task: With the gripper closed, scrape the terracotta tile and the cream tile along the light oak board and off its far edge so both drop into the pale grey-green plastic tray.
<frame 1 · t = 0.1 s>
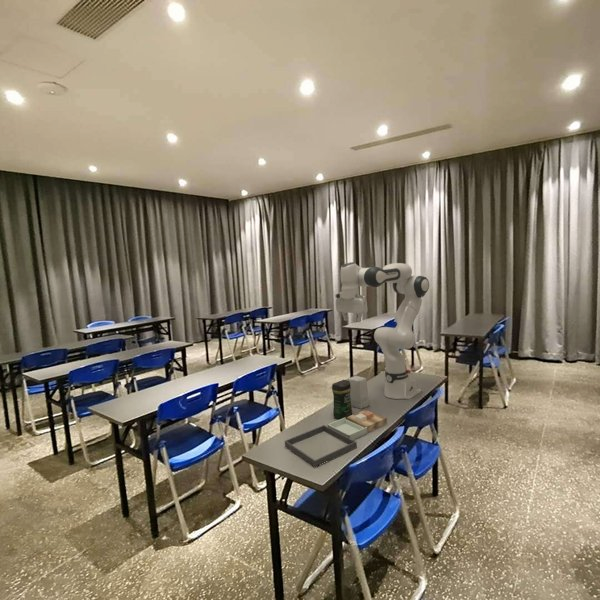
hand: (352, 321, 185), 48 cm above the table, fingers open, 8 cm apart
terracotta tile: (367, 417, 175), point 3 cm above the table, touching oak board
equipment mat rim: (320, 446, 156), on the table
cream tile: (360, 419, 172), point 3 cm above the table, touching oak board
coffee jar: (343, 416, 184), on the table
oak board: (366, 423, 174), on the table
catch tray: (347, 432, 167), on the table
skincare box: (359, 406, 196), on the table
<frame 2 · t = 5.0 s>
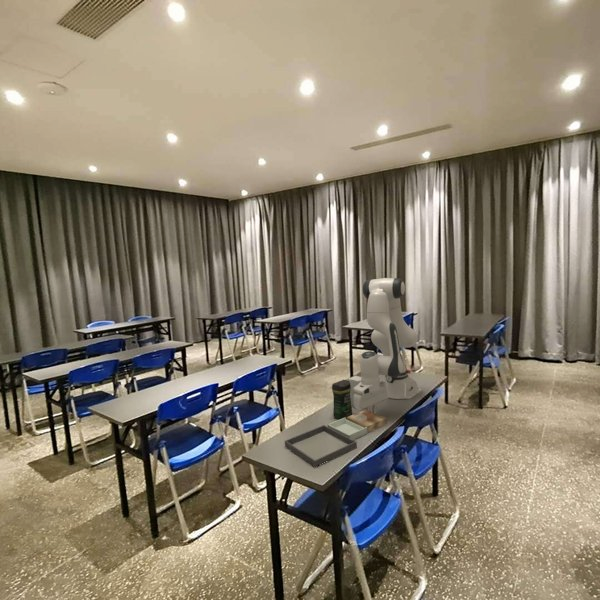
hand: (372, 412, 176), 4 cm above the table, fingers closed
terracotta tile: (367, 417, 174), point 3 cm above the table, touching gripper, oak board
everything else where it was.
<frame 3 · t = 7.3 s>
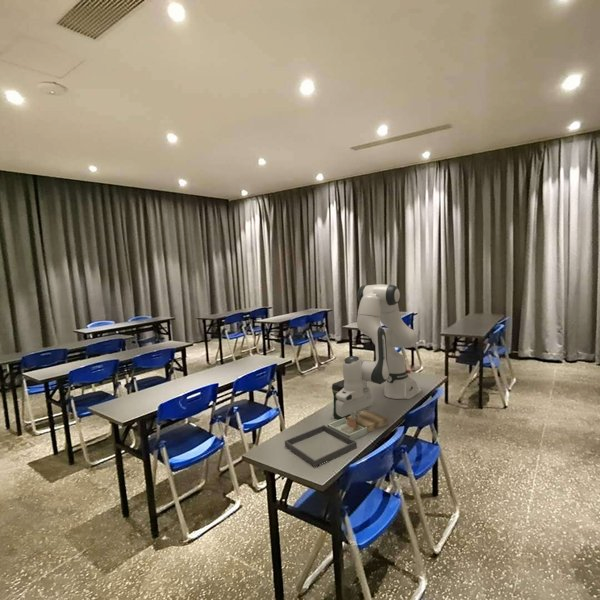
hand: (355, 419, 170), 4 cm above the table, fingers closed
terracotta tile: (353, 424, 169), point 3 cm above the table, tilted 94°, touching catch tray, gripper
cream tile: (347, 427, 167), point 2 cm above the table, tilted 180°, touching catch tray
everything else where it was.
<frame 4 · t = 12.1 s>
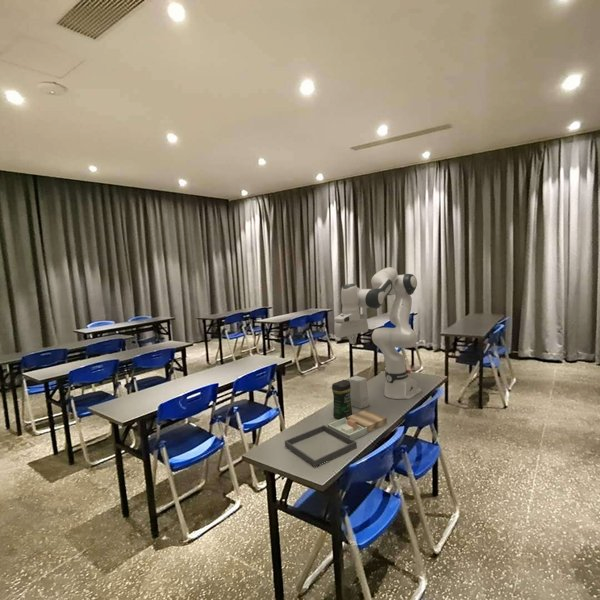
hand: (352, 343, 183), 37 cm above the table, fingers closed
terracotta tile: (353, 424, 170), point 2 cm above the table, tilted 90°, touching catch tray
everything else where it was.
at the end: terracotta tile inside the target area on the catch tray (4.3 cm from its centre), point 2.4 cm above the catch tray's base; cream tile inside the target area on the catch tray (0.4 cm from its centre), point 2.4 cm above the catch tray's base; terracotta tile touching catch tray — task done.
